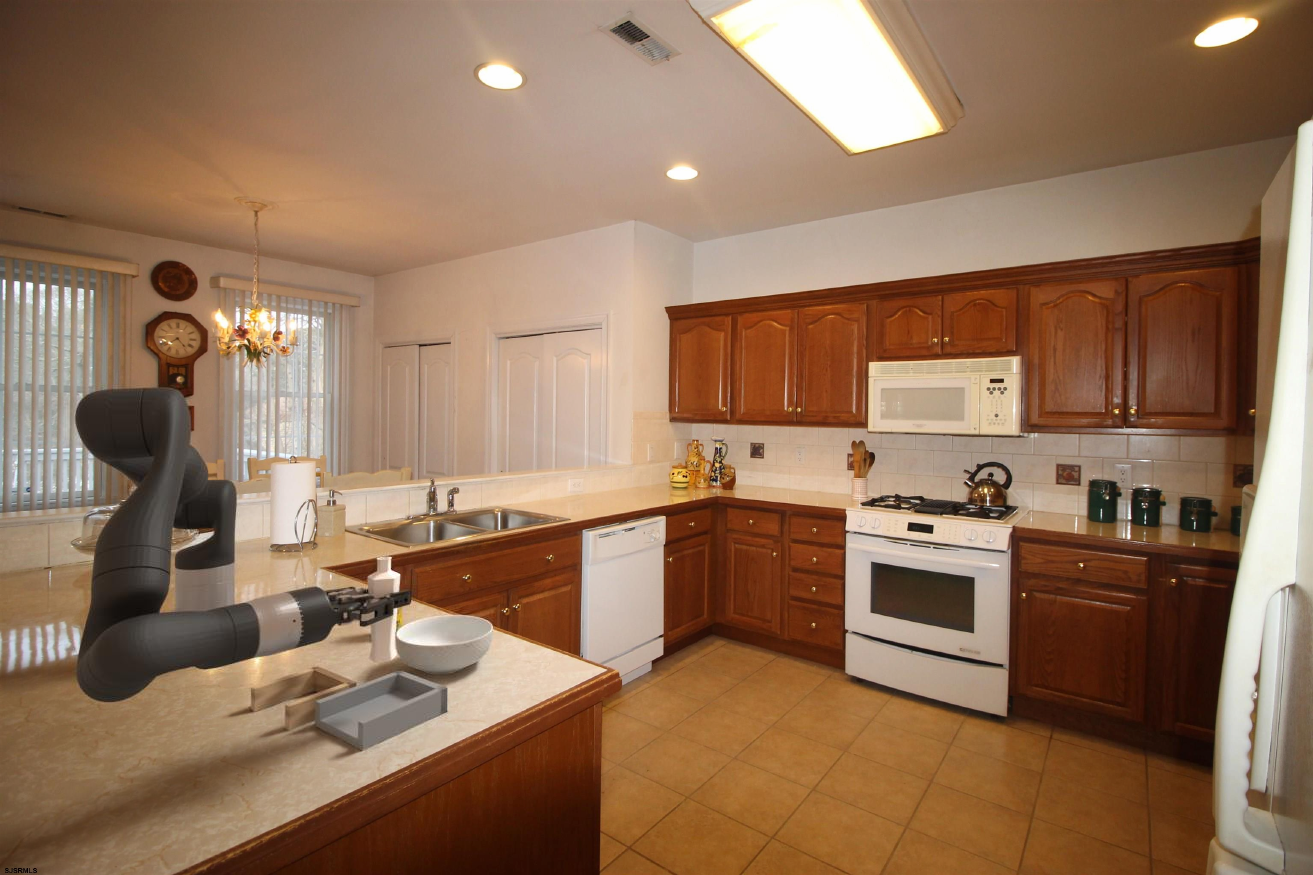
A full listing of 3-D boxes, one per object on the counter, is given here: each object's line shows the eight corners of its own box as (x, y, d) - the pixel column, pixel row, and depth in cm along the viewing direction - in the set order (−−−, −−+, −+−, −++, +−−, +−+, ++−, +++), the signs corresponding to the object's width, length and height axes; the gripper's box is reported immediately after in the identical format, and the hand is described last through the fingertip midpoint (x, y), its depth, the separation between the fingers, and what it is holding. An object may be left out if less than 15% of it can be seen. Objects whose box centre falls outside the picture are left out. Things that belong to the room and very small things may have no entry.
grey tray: (362, 750, 85) (363, 723, 85) (315, 725, 92) (315, 700, 92) (447, 711, 97) (447, 687, 97) (399, 692, 103) (399, 670, 103)
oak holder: (289, 730, 90) (289, 706, 90) (251, 709, 96) (251, 687, 96) (356, 703, 99) (356, 682, 99) (317, 686, 105) (317, 665, 105)
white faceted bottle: (372, 652, 96) (373, 555, 96) (401, 651, 96) (402, 555, 96) (360, 663, 91) (361, 561, 91) (391, 662, 92) (392, 560, 92)
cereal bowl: (399, 692, 103) (400, 650, 103) (391, 658, 118) (391, 621, 118) (502, 674, 111) (502, 635, 111) (482, 644, 126) (482, 610, 126)
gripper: (313, 602, 78) (429, 576, 92) (257, 584, 86) (372, 563, 100) (313, 662, 78) (429, 626, 92) (257, 638, 86) (372, 609, 100)
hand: (399, 593), depth 96 cm, fingers closed on white faceted bottle, 4 cm apart
